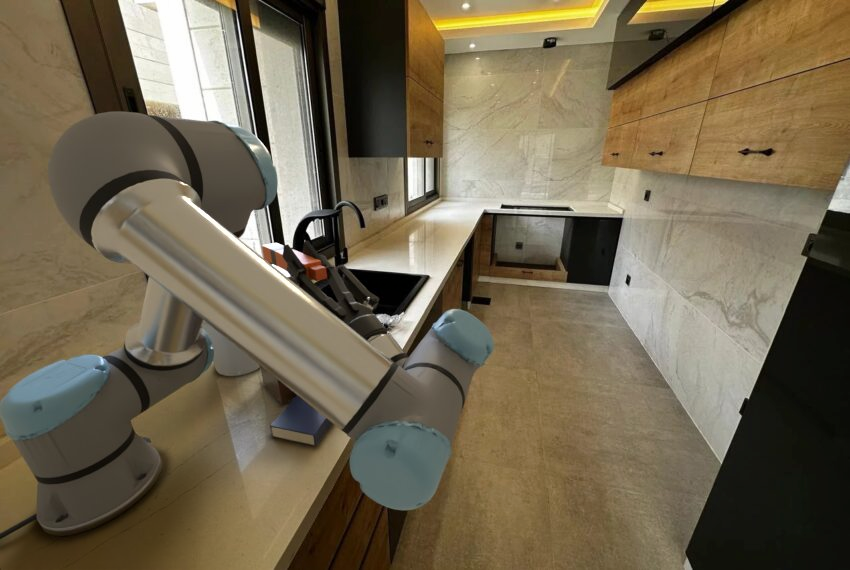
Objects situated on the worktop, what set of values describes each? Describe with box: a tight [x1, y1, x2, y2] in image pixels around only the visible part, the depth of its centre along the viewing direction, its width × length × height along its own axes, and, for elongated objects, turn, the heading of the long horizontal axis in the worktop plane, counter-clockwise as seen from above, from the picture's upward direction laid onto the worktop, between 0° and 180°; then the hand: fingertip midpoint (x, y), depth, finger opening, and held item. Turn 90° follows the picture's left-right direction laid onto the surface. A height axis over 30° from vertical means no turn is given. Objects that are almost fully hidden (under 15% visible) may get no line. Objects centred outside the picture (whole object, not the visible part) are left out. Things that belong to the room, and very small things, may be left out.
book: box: [269, 395, 333, 447], centre depth 72 cm, size 14×10×3 cm
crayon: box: [261, 242, 327, 282], centre depth 60 cm, size 3×20×3 cm, turn 47°
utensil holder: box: [201, 320, 260, 377], centre depth 88 cm, size 15×15×18 cm
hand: (295, 248), depth 58 cm, fingers closed on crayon, 3 cm apart
